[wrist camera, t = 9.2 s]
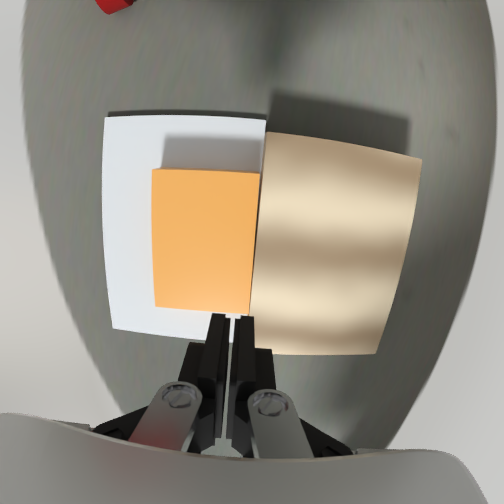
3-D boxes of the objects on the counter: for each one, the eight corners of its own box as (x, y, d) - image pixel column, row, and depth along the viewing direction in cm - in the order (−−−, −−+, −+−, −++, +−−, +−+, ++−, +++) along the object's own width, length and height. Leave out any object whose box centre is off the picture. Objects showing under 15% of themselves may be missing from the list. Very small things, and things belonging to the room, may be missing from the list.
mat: (244, 340, 26) (244, 343, 26) (114, 325, 25) (113, 328, 25) (265, 120, 20) (266, 120, 20) (107, 117, 20) (105, 117, 19)
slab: (248, 300, 24) (248, 313, 22) (162, 293, 24) (155, 306, 22) (258, 171, 21) (259, 173, 19) (161, 167, 21) (151, 169, 19)
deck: (364, 334, 26) (375, 353, 23) (245, 331, 26) (245, 352, 23) (402, 157, 21) (422, 159, 18) (264, 134, 20) (267, 131, 18)
